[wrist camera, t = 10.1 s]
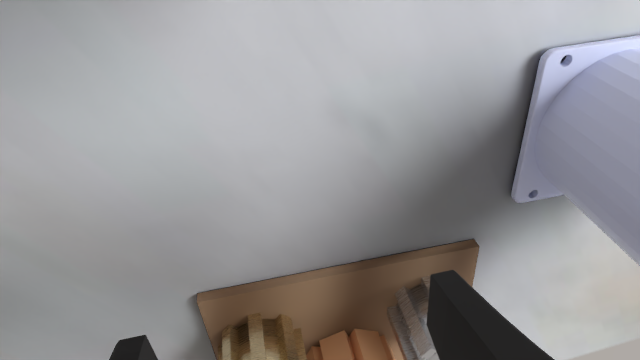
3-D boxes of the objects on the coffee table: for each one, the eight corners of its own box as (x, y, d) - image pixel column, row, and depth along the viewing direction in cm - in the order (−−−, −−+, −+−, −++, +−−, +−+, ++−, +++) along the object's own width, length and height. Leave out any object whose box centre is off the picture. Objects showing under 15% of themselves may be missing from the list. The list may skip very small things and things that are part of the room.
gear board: (474, 239, 25) (510, 291, 22) (454, 357, 32) (480, 410, 29) (197, 293, 23) (195, 358, 20) (235, 406, 30) (238, 469, 27)
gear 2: (467, 267, 26) (507, 332, 22) (458, 320, 28) (493, 385, 25) (387, 284, 25) (416, 352, 22) (386, 336, 28) (411, 404, 24)
